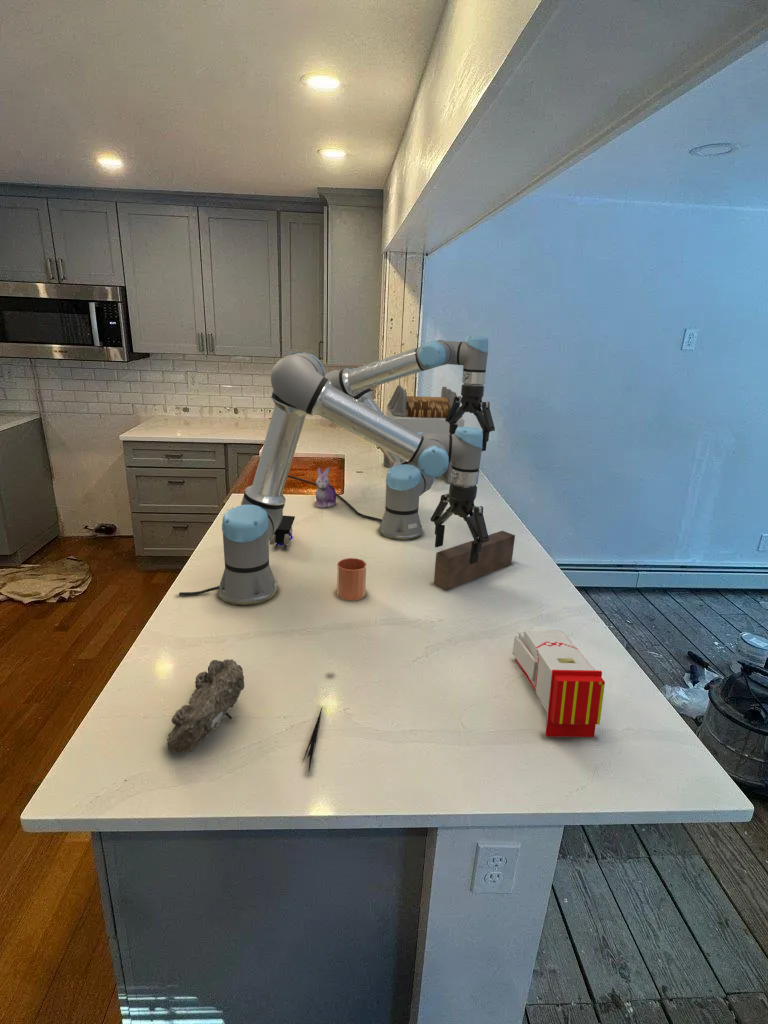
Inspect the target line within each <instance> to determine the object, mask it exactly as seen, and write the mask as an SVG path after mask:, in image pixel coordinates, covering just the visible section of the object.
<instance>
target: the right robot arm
mask: <svg viewBox="0 0 768 1024" xmlns="http://www.w3.org/2000/svg"><path fill="white" fill-rule="evenodd" d="M488 355H489V338H488V337H486V336H481V335H480V336H479V335H467V336H466V337H465V340H464V341H456V340H445V339H433V340H431V341H430V342H427V343H425V344H424V345H421V346H418V347H415V348H411V349H409V350H406V351H403V352H400V353H397V354H394V355H390V356H389V357H385V358H382V359H379V360H376V361H373V362H370V363H366V364H364V365H362V366H359V367H344V368H341V369H335V370H331V371H328V372H327V373H325V378H327V379H329V380H330V382H331V385H332V386H333V387H334V388H336V389H338V390H340V391H342V392H343V393H345V394H347V395H349V396H351V397H353V398H354V399H356V400H358V401H360V402H362V403H364V404H365V405H367V406H369V407H371V408H373V409H375V410H376V411H378V412H380V413H382V414H384V413H383V411H382V410H381V409H380V407H379V406H378V404H377V403H376V402H375V400H374V399H373V396H374V395H373V394H374V391H373V390H372V389H371V388H375V387H377V386H380V385H383V384H386V383H390V382H393V381H396V380H400V379H402V378H407V377H409V376H413V375H415V374H418V373H421V372H424V371H428V370H432V369H436V368H439V367H442V366H445V365H453V366H462V377H461V379H462V380H461V382H462V385H461V388H460V395H459V396H458V395H457V397H454V402H453V405H452V407H451V409H450V411H449V413H448V415H447V417H446V419H445V421H446V422H449V424H450V427H449V433H450V435H452V434H455V431H456V429H457V427H458V424H457V421H458V420H459V419H460V418H463V416H464V414H465V413H470V414H473V416H475V418H476V419H477V422H478V424H479V426H480V428H481V431H482V432H483V441H482V452H485V451H487V444H488V442H489V438H490V432H494V431H496V428H495V424H494V423H495V422H494V419H493V416H492V412H491V408H490V407H491V403H490V401H483V397H484V394H485V386H484V385H485V384H486V375H487V374H486V373H487V365H488V364H487V363H488ZM459 406H460V408H459ZM458 408H459V410H458ZM457 410H458V411H457ZM456 412H457V413H456ZM378 448H379V450H380V451H381V452H382V454H383V456H384V455H385V456H386V457H387V459H388V460H389V462H390V463H391V464H392V467H391V468H390V467H389V469H388V470H387V471H386V472H387V473H386V478H385V504H384V505H385V507H384V508H385V509H384V513H383V515H382V518H378V517H375V516H370V515H366V514H363V513H361V512H359V511H358V510H356V508H355V507H354V506H352V505H351V504H350V503H349V502H348V501H347V500H346V499H345V498H343V497H342V496H341V495H339V494H338V493H337V492H336V498H339V500H340V501H342V502H343V503H344V504H345V505H347V506H348V507H349V508H350V509H351V510H352V511H353V512H354V513H355V514H356V515H358V516H360V517H362V518H365V519H369V520H374V521H378V522H379V526H378V533H379V534H380V535H381V536H382V537H385V538H387V539H389V540H395V541H410V540H415V539H418V538H420V537H421V536H422V535H423V525H422V524H421V518H420V515H419V507H420V506H419V505H420V504H419V503H420V497H421V496H422V495H424V494H425V493H426V492H428V491H429V490H430V489H431V487H432V486H433V485H434V482H435V479H436V478H430V477H427V476H425V475H423V474H422V472H421V471H420V470H419V468H417V467H415V466H413V465H412V464H410V463H408V462H406V461H405V460H403V459H401V458H399V457H397V456H395V455H393V454H391V453H390V452H388V451H386V450H384V449H382V448H380V447H378ZM287 478H290V479H293V480H297V481H300V482H303V483H307V484H310V485H312V486H315V487H317V486H316V482H313V481H310V480H306V479H303V478H299V477H296V476H293V475H289V474H288V476H287Z"/></svg>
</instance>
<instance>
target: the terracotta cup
mask: <svg viewBox="0 0 768 1024" xmlns="http://www.w3.org/2000/svg"><path fill="white" fill-rule="evenodd" d="M367 566H368V565H367V563H366V561H364V560H363V559H360V558H356V557H355V558H354V557H349V558H344V559H343V558H342V559H340V560H339V561H338V562H337V564H336V567H337V568H336V595H337V597H338V598H340V599H342V600H345V601H358V600H362V599H363V598H365V596H366V592H367V591H366V589H367V588H366V587H367Z"/></svg>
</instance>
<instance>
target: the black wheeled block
mask: <svg viewBox="0 0 768 1024" xmlns="http://www.w3.org/2000/svg"><path fill="white" fill-rule="evenodd" d="M282 516H283V517H282V521H281V523H280V525H279V526H278V528H277V529H276V531H275V532H274V534H273V536H272V537H271V539H270V541H269V546H270V545H271V546H274V549H275V550H277V549H278V547H279V546H283V548H282V549H283V550H286V549H287V546H289V544H290V541H292V539H294V536H293V525H294V521H295V519H296V516H294V515H284V514H283V515H282Z"/></svg>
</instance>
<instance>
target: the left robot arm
mask: <svg viewBox="0 0 768 1024" xmlns="http://www.w3.org/2000/svg"><path fill="white" fill-rule="evenodd" d="M325 375H326V371H325V368H324V366H323V363H322V362H321V361H320V360H319V358H318V357H316V356H315V355H313V354H311V353H308V352H303V351H296V352H292V353H291V354H289V355H287V356H284V357H282V358H280V359H279V360H278V361H277V362H276V363H275V364H274V366H273V368H272V370H271V374H270V383H271V387H272V392H271V396H270V397H271V400H272V402H273V403H274V407H273V411H272V413H271V418H270V422H269V425H268V427H267V428H268V429H267V431H266V436H265V439H264V443H263V445H262V449H261V453H260V456H259V459H258V463H257V467H256V471H255V474H254V478H253V481H252V484H251V485H249V486H247V487H246V488H245V489H244V493H243V497H242V500H241V504H240V505H236V506H235V507H231V508H229V509H228V510H227V511H225V513H224V514H223V515H222V523H221V532H222V543H223V557H224V558H223V559H224V570H223V573H222V577H221V579H220V584H219V585H217V586H214V587H209V588H206V589H203V590H199V591H188V592H187V591H183V592H181V591H180V592H178V595H179V596H197V595H201V594H202V595H203V594H206V593H209V592H213V591H217V590H218V594H219V595H218V596H219V598H220V599H221V600H222V601H223V602H225V603H227V604H230V605H234V606H255V605H259V604H263V603H265V602H268V601H270V600H271V599H273V598H274V597H275V596H276V595H277V591H278V588H277V587H278V586H277V585H278V579H276V578H275V576H274V573H273V571H272V568H271V566H270V539H271V537H272V536H273V534H274V532H275V531H276V529H277V528H278V526H279V525H280V523H281V521H282V517H283V516H284V512H283V511H284V507H285V504H286V501H287V500H286V496H285V495H284V494H283V492H284V489H285V485H286V482H287V479H288V477H287V476H288V475H289V472H290V469H291V467H292V462H293V460H294V456H295V453H296V450H297V446H298V443H299V440H300V436H301V433H302V431H303V426H304V424H305V420H306V417H307V415H309V416H316V415H319V416H321V417H322V418H324V419H326V420H328V421H329V422H332V423H334V424H335V425H338V426H339V427H341V428H343V429H345V430H346V431H348V432H351V433H352V434H354V435H356V436H358V437H360V438H361V439H363V440H365V441H367V442H369V443H371V444H373V445H375V446H376V447H378V448H379V447H380V448H382V449H384V450H386V451H388V452H390V453H391V454H393V455H395V456H397V457H399V458H401V459H403V460H405V461H406V462H408V463H410V464H412V465H413V466H415V467H417V468H419V470H420V471H421V472H422V474H423V475H425V476H427V477H430V478H435V479H436V478H440V477H441V476H443V475H444V473H445V472H446V470H447V468H448V464H449V462H452V471H451V482H452V483H449V490H448V493H444V494H441V495H440V500H439V502H438V504H437V506H436V507H435V509H434V512H433V513H432V514H431V517H430V520H429V521H430V522H432V523H434V525H435V526H434V535H435V540H434V548H440V547H442V546H444V539H445V530H446V525H445V522H447V520H448V519H449V518H450V517H451V516H452V515H454V516H457V517H459V518H462V519H463V520H464V521H465V523H466V525H467V527H468V529H469V531H470V534H471V536H472V538H473V540H474V541H473V540H472V541H473V542H472V547H471V555H470V564H473V563H476V562H478V557H479V553H481V549H482V543H484V542H487V541H489V536H488V535H489V532H488V530H487V529H488V528H487V524H486V520H485V516H484V506H483V505H480V506H477V505H476V504H475V500H476V498H477V493H478V486H477V485H478V484H479V477H480V468H481V467H480V466H481V459H482V452H483V451H482V441H483V432H482V431H483V430H482V429H479V428H477V427H474V426H473V427H472V426H464V427H458V428H457V429H456V431H455V434H452V435H450V434H449V435H448V434H435V433H425V432H422V433H416V432H415V431H413V430H411V429H409V428H407V427H406V426H404V425H402V424H400V423H398V422H396V421H395V420H393V419H391V418H389V417H387V416H386V415H385V414H384V413H383V414H382V413H380V412H378V411H376V410H375V409H373V408H371V407H369V406H367V405H365V404H364V403H362V402H360V401H358V400H356V399H354V398H353V397H351V396H349V395H347V394H345V393H343V392H342V391H340V390H338V389H336V388H334V387H333V386H332V385H331V382H330V380H329V379H327V378H325ZM380 448H379V449H380ZM448 505H449V506H448ZM447 507H448V508H447ZM446 508H447V509H446ZM444 511H445V512H444ZM282 515H283V516H282Z"/></svg>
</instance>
